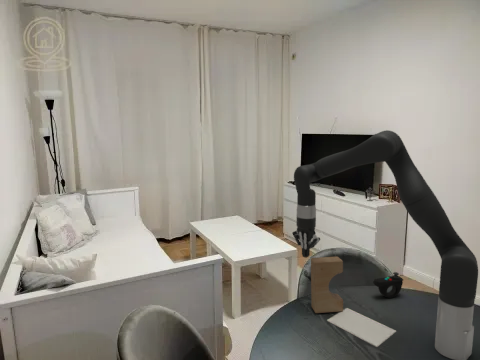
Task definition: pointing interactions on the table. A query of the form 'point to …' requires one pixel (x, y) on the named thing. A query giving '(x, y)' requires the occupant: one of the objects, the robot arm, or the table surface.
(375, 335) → the mat
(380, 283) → the controller
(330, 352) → the table surface
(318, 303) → the decorative block
